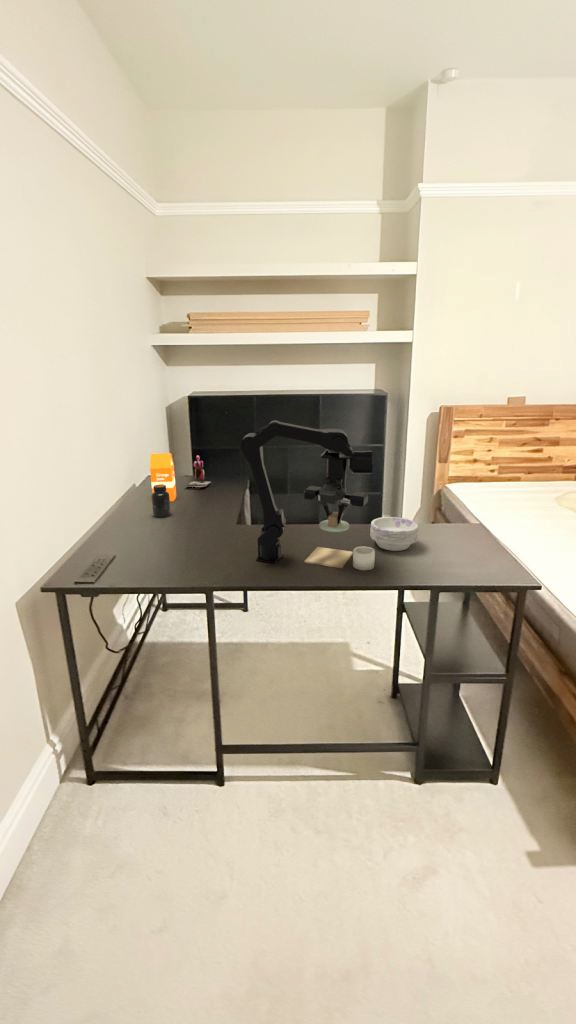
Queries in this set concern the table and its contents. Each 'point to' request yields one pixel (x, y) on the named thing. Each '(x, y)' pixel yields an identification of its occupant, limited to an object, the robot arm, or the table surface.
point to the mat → (329, 557)
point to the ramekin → (363, 558)
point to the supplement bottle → (161, 501)
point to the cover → (334, 524)
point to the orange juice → (163, 472)
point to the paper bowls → (394, 533)
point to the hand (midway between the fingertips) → (334, 522)
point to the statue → (198, 475)
